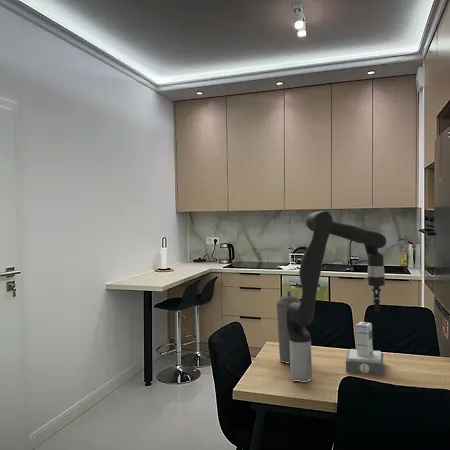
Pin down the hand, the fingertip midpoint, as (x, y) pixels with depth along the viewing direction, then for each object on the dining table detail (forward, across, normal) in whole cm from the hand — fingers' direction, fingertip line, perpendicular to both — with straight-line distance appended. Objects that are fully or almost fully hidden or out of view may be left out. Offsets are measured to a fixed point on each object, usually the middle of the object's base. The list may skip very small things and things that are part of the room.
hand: (377, 309), depth 200 cm
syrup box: (+20, +7, -6) cm, 22 cm away
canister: (+26, +6, -41) cm, 49 cm away
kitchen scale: (+26, +7, -6) cm, 28 cm away
